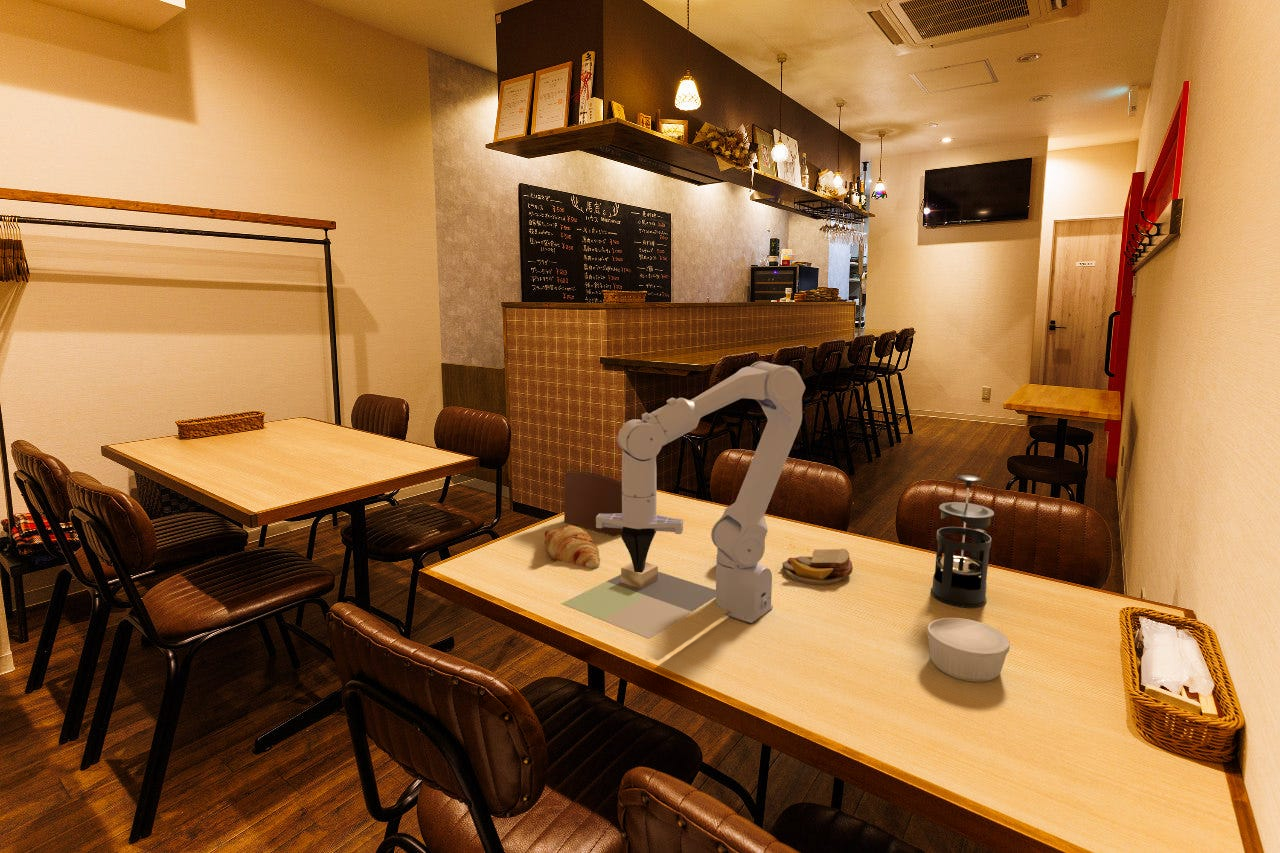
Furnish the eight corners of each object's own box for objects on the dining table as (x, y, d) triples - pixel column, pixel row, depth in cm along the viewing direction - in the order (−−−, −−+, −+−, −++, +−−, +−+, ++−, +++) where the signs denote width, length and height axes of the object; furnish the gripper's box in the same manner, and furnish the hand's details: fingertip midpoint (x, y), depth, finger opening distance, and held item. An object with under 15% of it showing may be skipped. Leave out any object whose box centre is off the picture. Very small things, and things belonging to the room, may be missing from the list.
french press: (966, 614, 118) (979, 487, 113) (918, 594, 125) (927, 475, 121) (1001, 596, 124) (1014, 476, 120) (953, 579, 132) (963, 466, 127)
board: (722, 597, 125) (722, 592, 124) (649, 644, 108) (649, 638, 108) (639, 570, 137) (639, 565, 137) (561, 608, 120) (561, 603, 120)
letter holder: (625, 540, 154) (624, 481, 151) (563, 523, 166) (562, 467, 163) (651, 529, 162) (651, 472, 159) (591, 512, 174) (590, 459, 171)
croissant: (609, 585, 138) (624, 549, 139) (571, 575, 132) (587, 537, 133) (557, 552, 155) (571, 520, 155) (522, 541, 148) (536, 508, 149)
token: (657, 580, 129) (657, 566, 129) (641, 589, 126) (641, 574, 125) (637, 574, 133) (637, 559, 132) (621, 582, 129) (621, 567, 128)
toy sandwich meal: (791, 557, 144) (792, 536, 143) (856, 569, 138) (858, 547, 137) (774, 579, 133) (775, 556, 132) (844, 593, 127) (845, 569, 126)
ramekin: (936, 639, 109) (939, 609, 108) (1013, 663, 102) (1017, 631, 101) (914, 669, 101) (917, 636, 100) (996, 696, 94) (1000, 662, 93)
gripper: (686, 488, 113) (685, 564, 116) (603, 483, 116) (604, 557, 119) (679, 500, 106) (678, 581, 109) (591, 495, 110) (593, 573, 112)
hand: (639, 570), depth 114 cm, fingers closed
